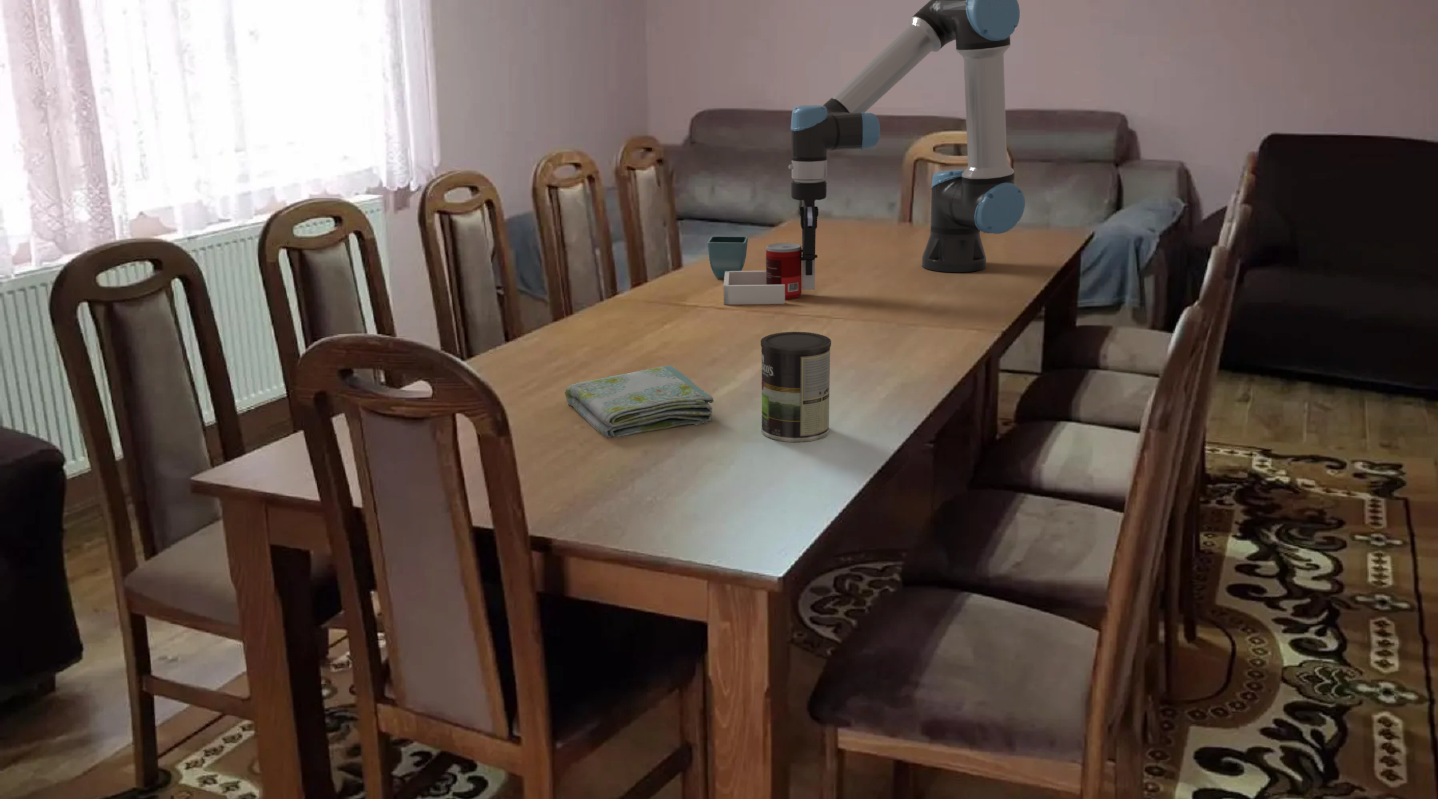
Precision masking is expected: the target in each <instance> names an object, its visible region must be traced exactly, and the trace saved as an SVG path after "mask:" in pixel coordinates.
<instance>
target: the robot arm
mask: <svg viewBox="0 0 1438 799" xmlns="http://www.w3.org/2000/svg"><path fill="white" fill-rule="evenodd" d="M1020 14H1021V8H1020V5H1019V2H1018V0H929V1H928V2H927V3H926V4H925V5H924V6H923V7H921V8H920V9H919V10H918V11H917V12H916V13H914V15H912V17H910V19H909V22H908V26H907V27H906V28H905V29H903V31H902V32H901V33H900V34H899V35H897V36H896V37H895V38H894V39H893V40H892V41H891V42H890V43H889V44H887V46H885V48H883V49H882V51H880V52H879V53H878V54H877V55H876V56H875V57H874V58H873V59H872V60H871V61H870V62H869V63H867V64H866V65H865V66H864V67H862V69H861V70H860V71H858V72H857V74H856V75H854V77H852V78H851V79H850V80H849V81H848V82H847V83H846V84H845V85H844V86H842V87H841V88H840V89H839V90H838V91H837V92H836V93H835V94H834V95H833V96H832V97H831V98H830V99H828V100H827V101H826V102H825V103H824V104H823V105H819V104H818V105H817V104H815V105H806V104H804V105H797V106H795V107H793V109H792V111H791V117H790V118H791V121H790V122H791V123H790V135H791V136H790V137H791V143H790V144H791V156H790V158H791V164H789V165H788V169H789V170H791V178H792V179H793V180H792V182H790V183H791V184H790V187H791V189H790V190H791V193H790V197H791V199H793V200H795V201H802V206H799V210H798V212H799V213H798V214H799V216H800V220H799V221H800V227H801V240H802V241H801V248H802V257H801V258H800V260H802V291H804V290H805V291H806V290H808V291H810V290H812V291H813V290H816V259H817V258H818V254H816V239H817V238H816V232H817V230H816V229H817V228H818V217H819V207H818V206H816V203H815V202H816V201H820V200H824V199H826V198H827V191H828V190H827V182H826V179H827V177H828V160H827V159H828V151H840V150H841V151H842V150H864V149H872V148H874V147H875V146H876V145H877V144H878V142H879V140H880V137H881V123H880V120H879V119H878V117H877V115H876V114H875V113H873V112H867V111H868V110H869V109H870V108H871V107H872V106H874V105H875V104H876V103H877V102H878V101H879V100H881V98H882V97H884V96H885V95H886V93H888V92H889V91H890V90H891V89H892V88H893V87H894V86H896V84H897V83H899V82H900V81H901V80H902V79H903V78H904V77H905V76H906V75H908V73H909V72H911V70H913V69H914V68H915V67H916V66H917V65H918V64H919V63H920V62H921V61H923V59H925V57H927V56H928V55H929V54H930V53H931V52H939V51H940V50H941V49H943V47H945V45H946V46H947V44H949V43H951V42H953V41H955V49H956V50H955V51H956V53H958V54H959V55H960V56H961V57H962V58H963V72H964V96H965V98H964V99H965V124H966V146H967V147H966V148H967V167H966V169H960V170H958V169H956V170H943V171H937V172H935V173H934V174H933V175H932V179H931V186H930V190H931V199H930V200H931V201H930V202H931V203H930V204H931V205H930V206H931V207H930V234H929V237H928V239H927V243H926V244H925V245H926V246H925V248H924V251H923V253H922V257H921V258H922V259H921V267H923V268H924V269H927V270H929V271H935V272H941V273H942V272H943V273H968V272H969V273H971V272H977V271H978V272H979V271H981V270H984V269H986V268H987V257H986V252H985V250H984V249H985V248H984V246H983V243H982V239H981V232H982V233H984V234H992V235H993V234H995V235H1000V234H1003V233H1006V232H1009V231H1010V230H1012V229H1013V228H1014V227H1015V226H1016V225H1017V223H1018V222H1019V221H1020V220H1021V218H1022V217H1023V215H1024V212H1025V207H1026V199H1025V194H1024V193H1023V190H1021V189H1020V187H1019V186H1018V185H1016V184H1015V170H1014V168H1012V166H1010V165H1009V164H1008V154H1007V153H1008V151H1007V127H1006V126H1007V122H1006V121H1007V119H1006V90H1005V89H1006V88H1005V63H1004V59H1005V57H1004V55H1005V53H1006V52H1007V50H1008V49H1009V48H1010V47H1011V35H1013V33H1014V32H1015V29H1016V27H1018V25H1019V22H1020V16H1021V15H1020Z"/></svg>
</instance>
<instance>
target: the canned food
mask: <svg viewBox="0 0 1438 799" xmlns="http://www.w3.org/2000/svg"><path fill="white" fill-rule="evenodd" d="M801 257H802V244H799V243H793V242H792V243H791V242H779V243H771V244H767V245H766V248H765V271H766V285H784V284H785V300H794V299H797V298H799V297H800V296H801V294H802V291H803V290H802V260H800V258H801Z"/></svg>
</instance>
